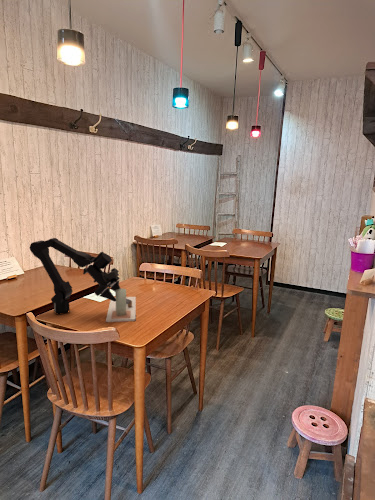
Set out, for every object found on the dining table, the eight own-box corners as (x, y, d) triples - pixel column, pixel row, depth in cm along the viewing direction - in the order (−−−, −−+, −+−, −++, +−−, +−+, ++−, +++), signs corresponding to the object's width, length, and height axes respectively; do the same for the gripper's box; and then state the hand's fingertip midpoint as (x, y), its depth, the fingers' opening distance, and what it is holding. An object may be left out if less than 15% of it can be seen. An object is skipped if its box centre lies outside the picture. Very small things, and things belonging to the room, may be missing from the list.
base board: (135, 320, 166) (135, 318, 166) (105, 322, 164) (105, 320, 164) (135, 298, 199) (135, 296, 199) (111, 299, 197) (111, 297, 197)
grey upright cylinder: (114, 315, 168) (114, 291, 166) (117, 311, 173) (117, 288, 171) (124, 316, 168) (124, 291, 165) (127, 312, 173) (127, 288, 170)
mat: (130, 318, 167) (130, 317, 167) (111, 318, 165) (111, 317, 165) (130, 311, 175) (130, 310, 175) (112, 312, 174) (112, 311, 174)
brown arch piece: (120, 311, 175) (120, 304, 175) (112, 305, 184) (112, 298, 183) (134, 308, 180) (134, 301, 179) (126, 302, 189) (125, 296, 188)
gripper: (100, 268, 158) (123, 293, 158) (115, 260, 176) (136, 282, 176) (85, 283, 161) (107, 308, 161) (101, 274, 179) (121, 295, 179)
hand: (119, 297), depth 169 cm, fingers open, 9 cm apart
